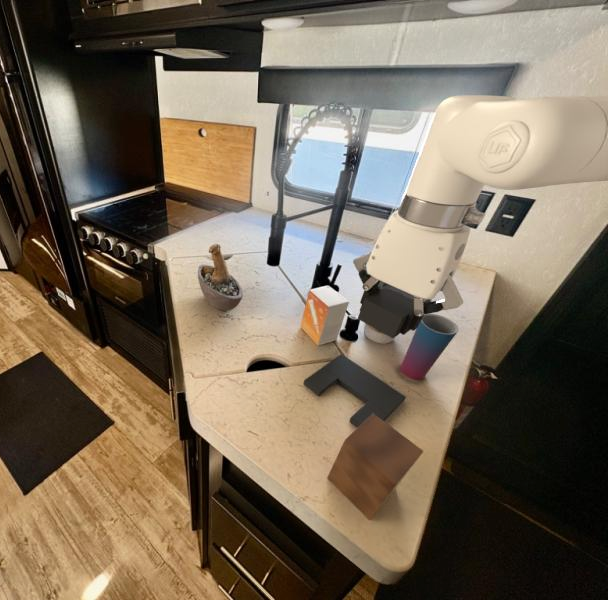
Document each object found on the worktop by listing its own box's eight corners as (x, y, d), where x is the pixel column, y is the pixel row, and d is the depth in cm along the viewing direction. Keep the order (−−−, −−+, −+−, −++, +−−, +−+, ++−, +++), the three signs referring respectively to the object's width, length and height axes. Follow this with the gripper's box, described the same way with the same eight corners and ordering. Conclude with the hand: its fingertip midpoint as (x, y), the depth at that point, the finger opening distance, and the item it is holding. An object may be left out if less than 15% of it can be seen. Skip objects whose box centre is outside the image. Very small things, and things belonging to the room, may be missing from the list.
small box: (299, 327, 87) (308, 289, 80) (318, 322, 89) (328, 284, 82) (317, 346, 81) (328, 306, 74) (337, 340, 83) (350, 301, 76)
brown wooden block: (395, 488, 53) (423, 450, 46) (369, 520, 49) (396, 484, 42) (353, 451, 58) (373, 413, 51) (327, 477, 54) (344, 440, 47)
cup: (435, 378, 73) (466, 329, 64) (414, 386, 71) (443, 337, 62) (410, 358, 78) (435, 311, 69) (389, 365, 76) (413, 317, 67)
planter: (201, 286, 105) (200, 230, 93) (249, 295, 101) (255, 238, 89) (184, 311, 94) (181, 251, 82) (238, 323, 89) (243, 261, 78)
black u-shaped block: (403, 401, 67) (406, 396, 67) (368, 436, 61) (370, 432, 60) (339, 358, 78) (341, 353, 77) (303, 384, 71) (304, 379, 70)
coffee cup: (349, 335, 85) (365, 290, 76) (364, 316, 92) (380, 272, 83) (393, 356, 78) (416, 308, 70) (406, 334, 85) (428, 288, 77)
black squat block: (412, 323, 50) (422, 303, 48) (393, 339, 47) (402, 318, 45) (376, 305, 54) (384, 286, 52) (357, 318, 51) (364, 299, 49)
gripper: (526, 224, 36) (454, 339, 46) (383, 189, 47) (350, 288, 58) (504, 241, 32) (431, 361, 43) (355, 198, 44) (326, 302, 54)
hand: (385, 318), depth 50 cm, fingers closed on black squat block, 6 cm apart
